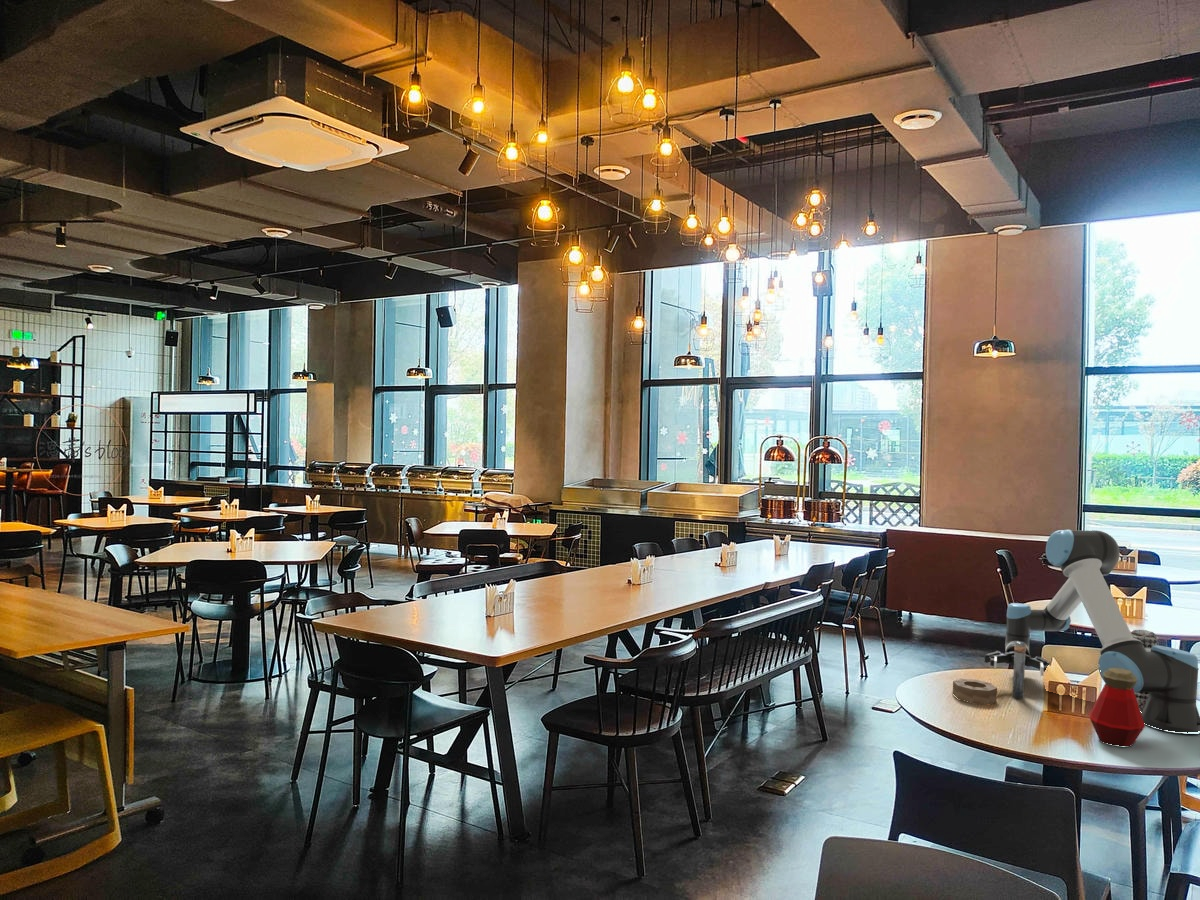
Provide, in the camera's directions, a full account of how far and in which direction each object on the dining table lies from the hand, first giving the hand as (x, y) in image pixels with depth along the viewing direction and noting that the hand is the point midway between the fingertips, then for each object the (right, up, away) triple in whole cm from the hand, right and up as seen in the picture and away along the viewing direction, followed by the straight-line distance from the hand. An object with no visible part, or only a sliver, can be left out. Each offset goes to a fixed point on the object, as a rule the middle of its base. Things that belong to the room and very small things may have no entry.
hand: (1018, 668), depth 271 cm
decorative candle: (+35, -12, -7) cm, 37 cm away
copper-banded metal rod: (0, -10, +1) cm, 10 cm away
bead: (-15, -9, -1) cm, 18 cm away
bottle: (+9, -11, -37) cm, 39 cm away
